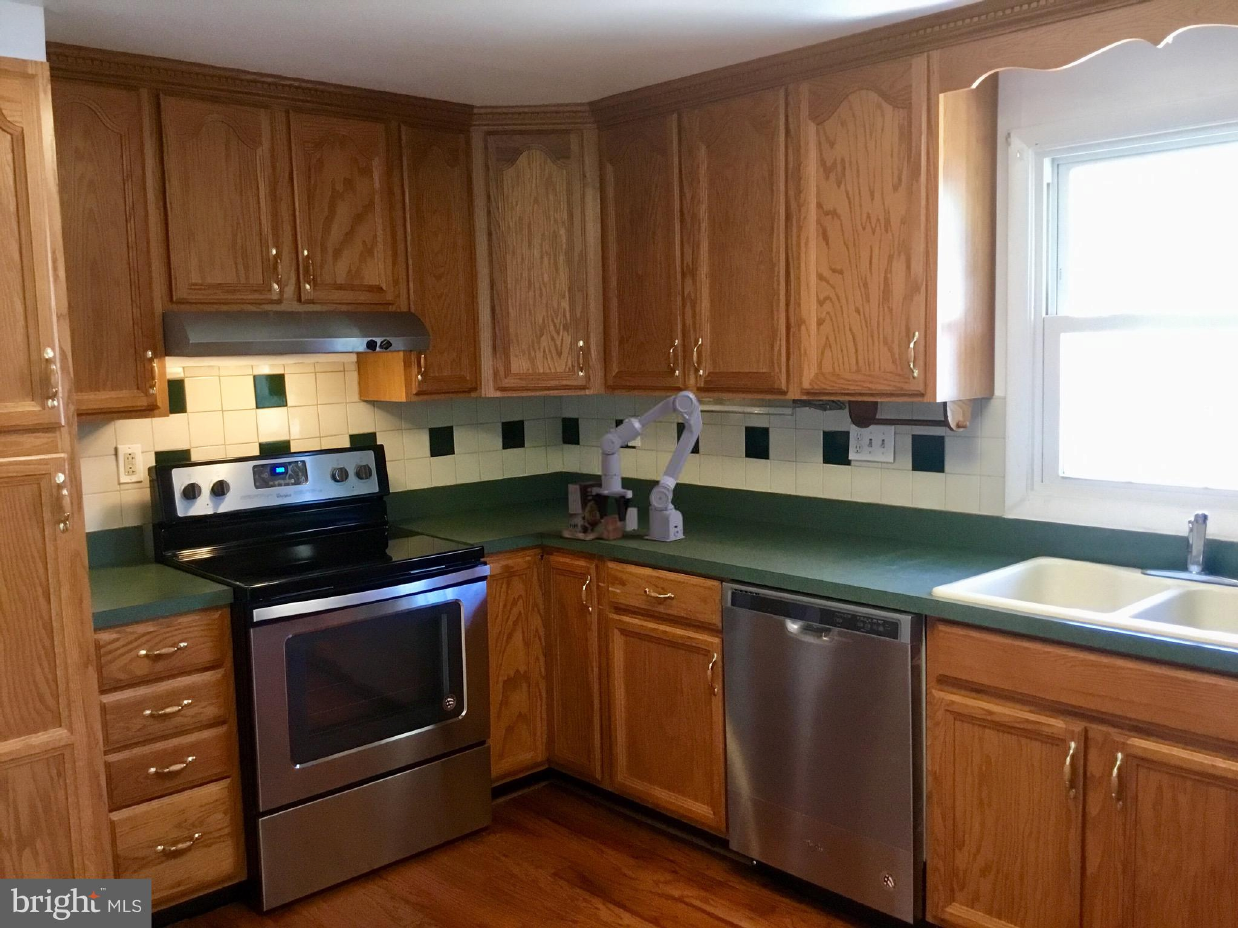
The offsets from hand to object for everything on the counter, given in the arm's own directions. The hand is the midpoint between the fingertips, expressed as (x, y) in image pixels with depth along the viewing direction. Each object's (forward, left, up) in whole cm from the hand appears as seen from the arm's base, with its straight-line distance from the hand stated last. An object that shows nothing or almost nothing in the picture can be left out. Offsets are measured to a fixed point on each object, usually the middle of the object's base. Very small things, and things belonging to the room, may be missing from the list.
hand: (612, 520), depth 323 cm
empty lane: (+14, -14, -6) cm, 21 cm away
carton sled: (+7, 0, -5) cm, 9 cm away
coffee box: (+11, 0, -6) cm, 12 cm away
